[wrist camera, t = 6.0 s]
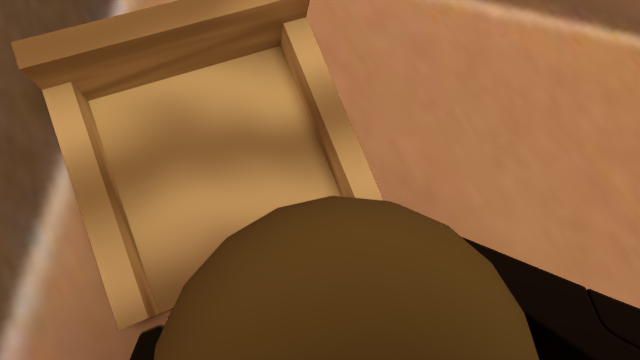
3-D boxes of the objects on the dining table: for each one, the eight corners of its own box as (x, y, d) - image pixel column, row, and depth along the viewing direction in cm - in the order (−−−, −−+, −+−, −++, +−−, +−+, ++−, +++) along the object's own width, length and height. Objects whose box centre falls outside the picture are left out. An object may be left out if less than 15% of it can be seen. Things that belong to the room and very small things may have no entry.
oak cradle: (373, 227, 23) (406, 214, 19) (136, 322, 21) (102, 337, 16) (291, 28, 25) (301, -31, 20) (62, 93, 22) (10, 42, 18)
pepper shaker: (159, 312, 15) (-85, 408, 4) (299, 196, 16) (395, 40, 5) (278, 459, 14) (362, 1004, 4) (410, 326, 16) (744, 432, 5)
